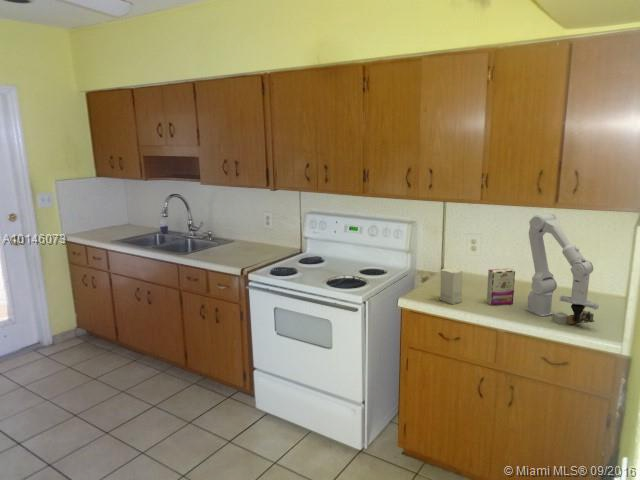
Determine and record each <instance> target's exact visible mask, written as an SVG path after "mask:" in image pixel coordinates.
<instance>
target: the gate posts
mask: <svg viewBox="0 0 640 480" xmlns="http://www.w3.org/2000/svg"><path fill="white" fill-rule="evenodd" d="M579 322H580V323H587V322H589V323H593V322H595V320H594V313H592V312H590V314H588V319H586V314H582V320H581V321H579Z"/></svg>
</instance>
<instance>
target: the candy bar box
mask: <svg viewBox="0 0 640 480" xmlns="http://www.w3.org/2000/svg"><path fill="white" fill-rule="evenodd" d="M487 273H488V275H487V288H486V289H487V291H486V303H487V304H488V305H490V306H503V305H514V296H515V293H514V292H515V278H516V270H514V269H512V268H510V267H507V268H493V269H488V271H487Z"/></svg>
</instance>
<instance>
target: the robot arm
mask: <svg viewBox="0 0 640 480" xmlns="http://www.w3.org/2000/svg"><path fill="white" fill-rule="evenodd" d="M546 233H548V234H551V236H552V238H554V239H555V241H556V242H557V243H558V245H559V246H560V247H561V248H562V250H561V253H562V254H563V256H564V258H565V259H566V261H567V262H568V264H569V266H571V267H570V272H571V274H572V285H571V286H572V287H571V296H566V295H560V296H559V302H566V303H570V304H571V305H570V308H571V310H572V313H573V314H574V316H575V317H574V322H576V323H578V322H580V321H579V320H580V314H581V313H582V311H583V310H585V308H590V309H593V310H599V308H600V307H599V306H600V305H599V303H596V302H593V301H589V300H588V293H589V283H590V277H591V273H593V272H594V266H593V262H592V261H590V260H587V259H586V257H584V256H583V254H582V253H581V252H580V248H579V247H577V246H576V245H573V244H571V243H570V240H569V239H568V238H567V235H566V233H564V231H563V229H562V226H561V225H560V221H559V219H558V218H557V217H556V215H555V214H554V213H550V212H549V213H546V214H536V215H533V217H531V218H530V220H529V230H528V239H529V244H530V250H531V257H532V260H533V261H532V262H533V267H534V272H535V273H534V274H533V276H532V278H531V282H532V283H531V291H530V292H529V293H528V294H527V295H528V296H527V305H526V308H525V311H527V312H531V313H533V314H535V315H537V316H540V317H547V316H552V314H553V313H555V312H554V311H552V303H553V302H552V301H553V294H554V291H556V290H557V287H558V284H557V281H556V280H555V277H554V274H553V273H551V272H550V270H549V269H550V268H549V263H548V259H547V257H548V256H547V253H546V247H545V242H544V241H545V240H544V236H545V234H546Z"/></svg>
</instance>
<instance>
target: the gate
mask: <svg viewBox="0 0 640 480" xmlns="http://www.w3.org/2000/svg"><path fill="white" fill-rule="evenodd" d="M590 313H591V310H589V309H584V310H583V311H582V313H581V314H580V320H579V322H580V321H581V320H582V314H586V320H588V314H590ZM574 317H575V316H574V313H573V314H571V315H568V319H567V323H569V324H570V325H572V324H574V323H577V322H574ZM569 324H568V325H569Z"/></svg>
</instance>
